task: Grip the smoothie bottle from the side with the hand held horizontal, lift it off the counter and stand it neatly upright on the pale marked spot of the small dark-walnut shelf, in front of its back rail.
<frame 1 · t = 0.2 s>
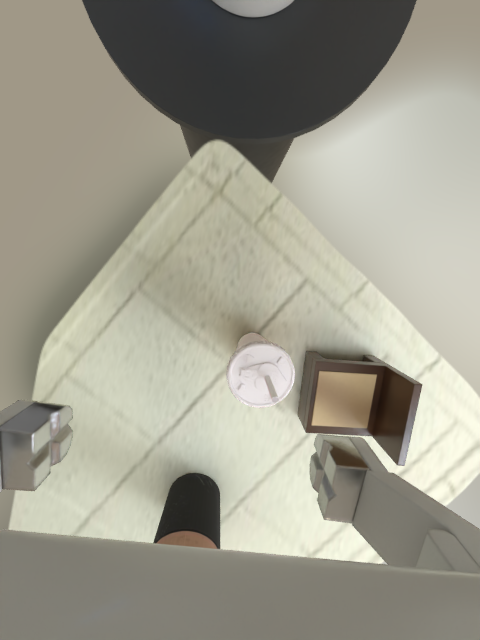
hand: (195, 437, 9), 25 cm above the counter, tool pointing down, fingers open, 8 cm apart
travel mug: (194, 494, 38), on the counter
shelf: (335, 385, 36), on the counter
smoothie: (251, 346, 35), on the counter
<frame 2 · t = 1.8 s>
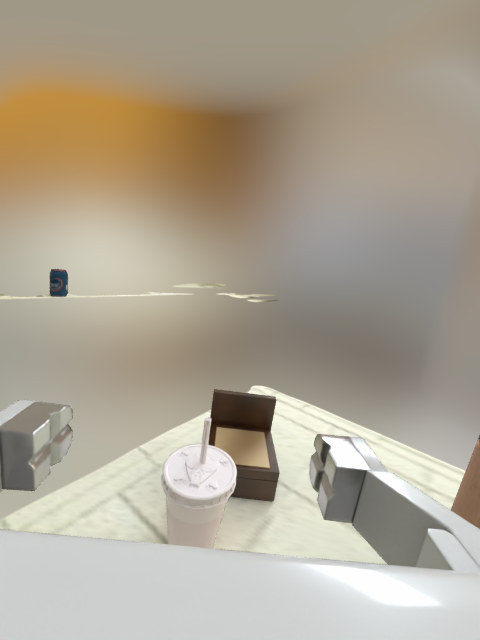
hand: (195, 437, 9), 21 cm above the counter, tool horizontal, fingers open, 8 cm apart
soda can: (58, 296, 127), on the counter
shelf: (236, 469, 37), on the counter
smoothie: (189, 557, 25), on the counter
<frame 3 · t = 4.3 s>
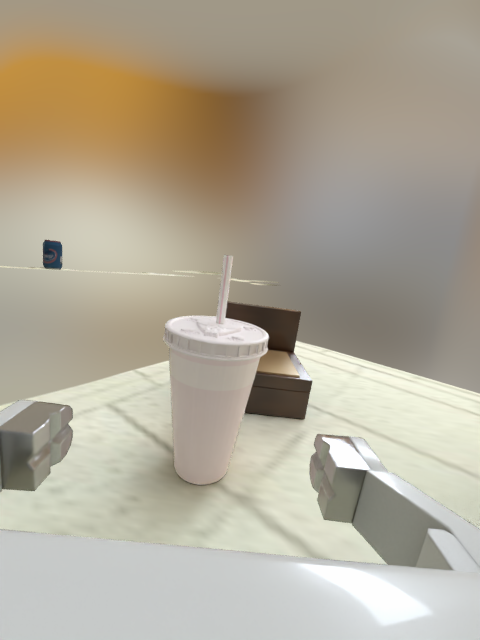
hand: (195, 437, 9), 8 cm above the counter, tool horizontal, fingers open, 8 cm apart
soda can: (52, 269, 121), on the counter
shelf: (254, 392, 30), on the counter
smoothie: (201, 465, 19), on the counter
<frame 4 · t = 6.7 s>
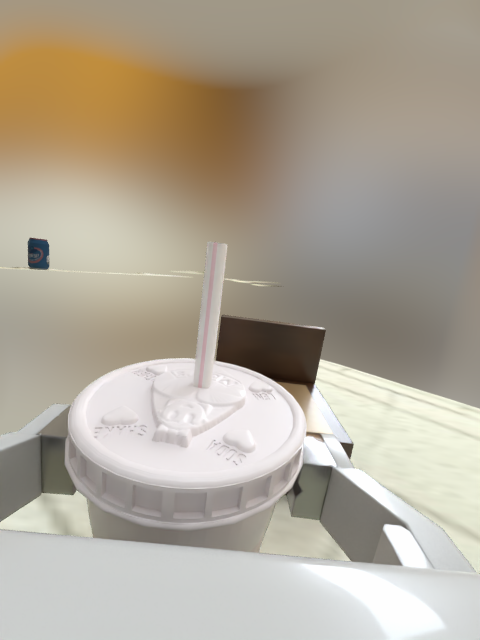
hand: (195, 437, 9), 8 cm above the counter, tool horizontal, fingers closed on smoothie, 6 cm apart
soda can: (39, 269, 112), on the counter
shelf: (262, 444, 21), on the counter
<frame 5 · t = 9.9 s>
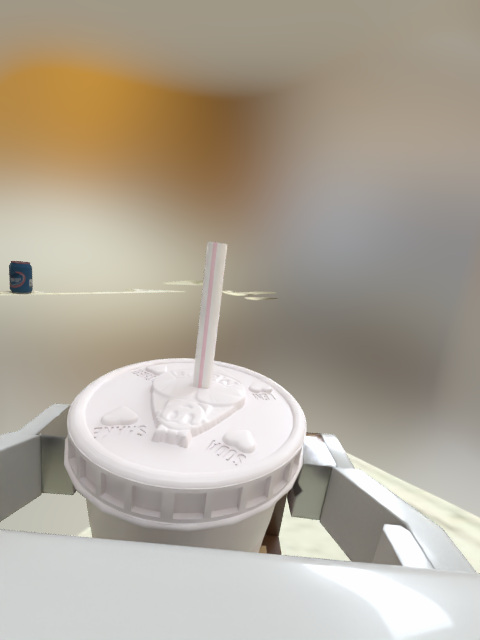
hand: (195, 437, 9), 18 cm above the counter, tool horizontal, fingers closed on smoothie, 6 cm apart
soda can: (21, 293, 108), on the counter
shelf: (209, 636, 18), on the counter
when the fingers open (12 cm above the counter, at t = 13.1 s): smoothie stays where it is, resting on shelf.
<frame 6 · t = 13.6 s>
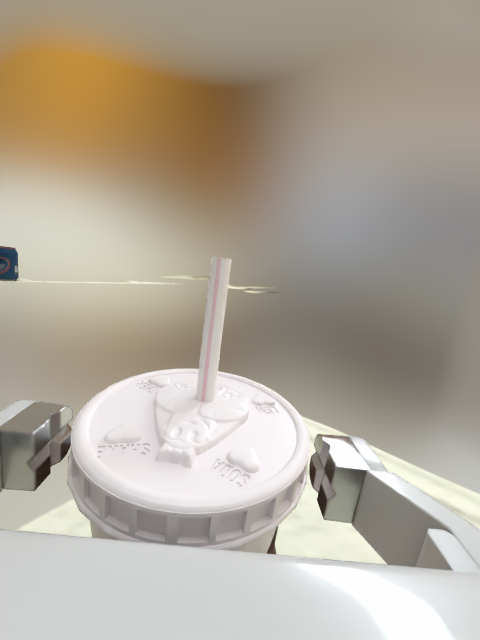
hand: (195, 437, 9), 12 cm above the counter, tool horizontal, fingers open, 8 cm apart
soda can: (6, 280, 102), on the counter
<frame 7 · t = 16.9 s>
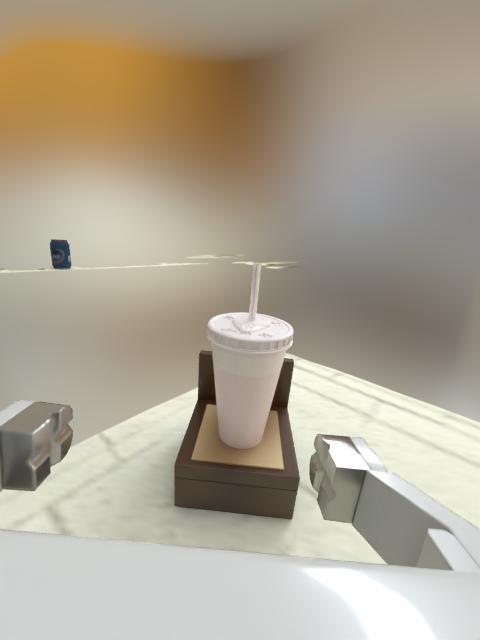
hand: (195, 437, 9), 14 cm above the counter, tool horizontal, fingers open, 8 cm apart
soda can: (62, 268, 120), on the counter
shelf: (236, 464, 25), on the counter
smoothie: (240, 434, 23), point 4 cm above the counter, touching shelf
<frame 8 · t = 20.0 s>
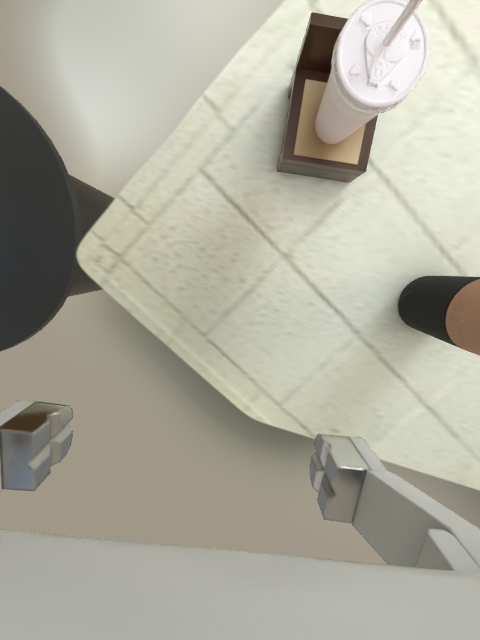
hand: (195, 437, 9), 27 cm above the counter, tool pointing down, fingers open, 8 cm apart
travel mug: (423, 302, 36), on the counter
shelf: (321, 135, 32), on the counter
smoothie: (332, 125, 28), point 4 cm above the counter, touching shelf
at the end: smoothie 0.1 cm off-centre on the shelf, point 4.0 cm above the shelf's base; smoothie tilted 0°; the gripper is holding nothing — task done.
